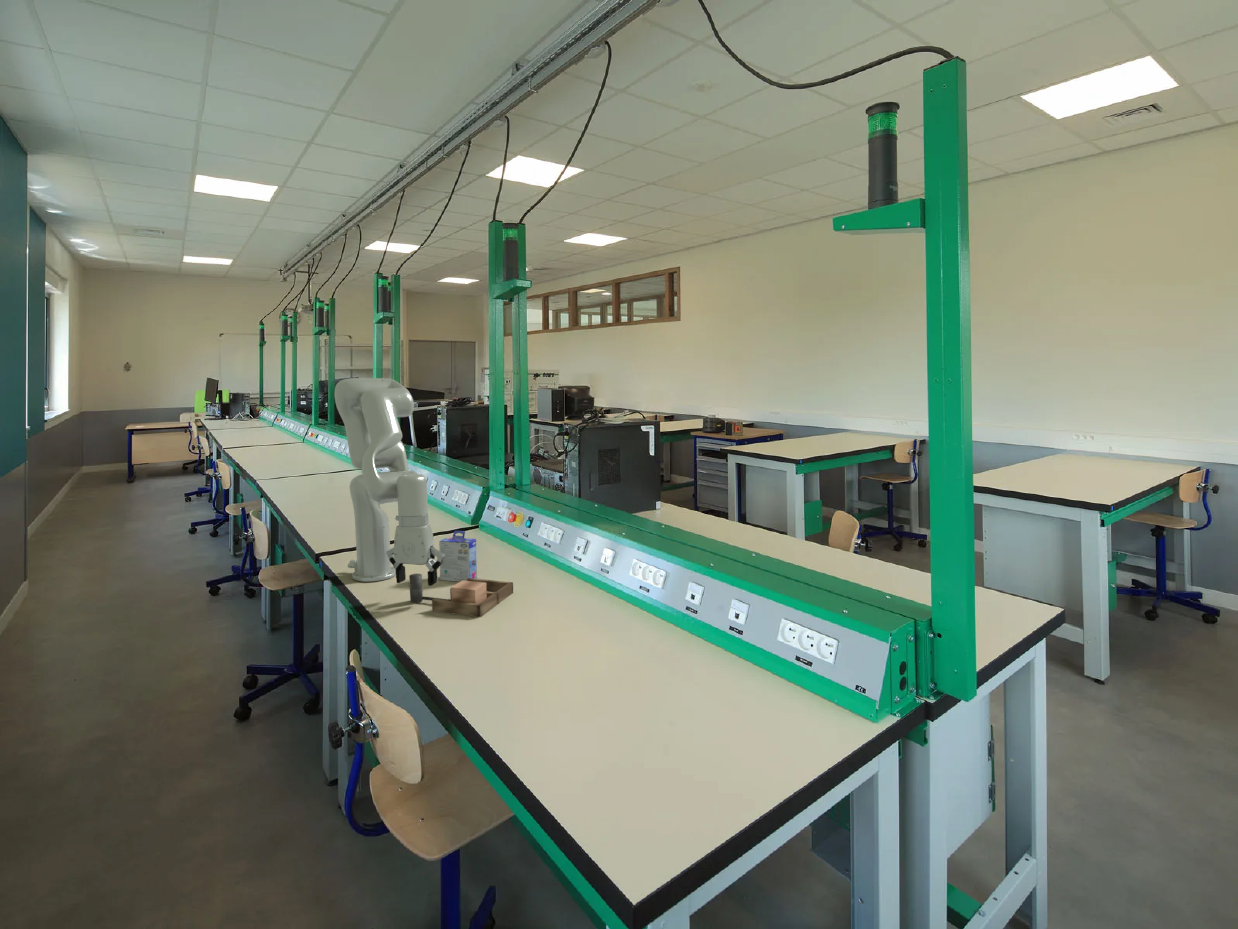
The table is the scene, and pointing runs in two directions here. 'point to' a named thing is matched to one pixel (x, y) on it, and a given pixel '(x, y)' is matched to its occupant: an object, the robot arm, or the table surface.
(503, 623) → the table surface
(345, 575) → the table surface
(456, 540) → the ink cartridge box
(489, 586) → the tray
